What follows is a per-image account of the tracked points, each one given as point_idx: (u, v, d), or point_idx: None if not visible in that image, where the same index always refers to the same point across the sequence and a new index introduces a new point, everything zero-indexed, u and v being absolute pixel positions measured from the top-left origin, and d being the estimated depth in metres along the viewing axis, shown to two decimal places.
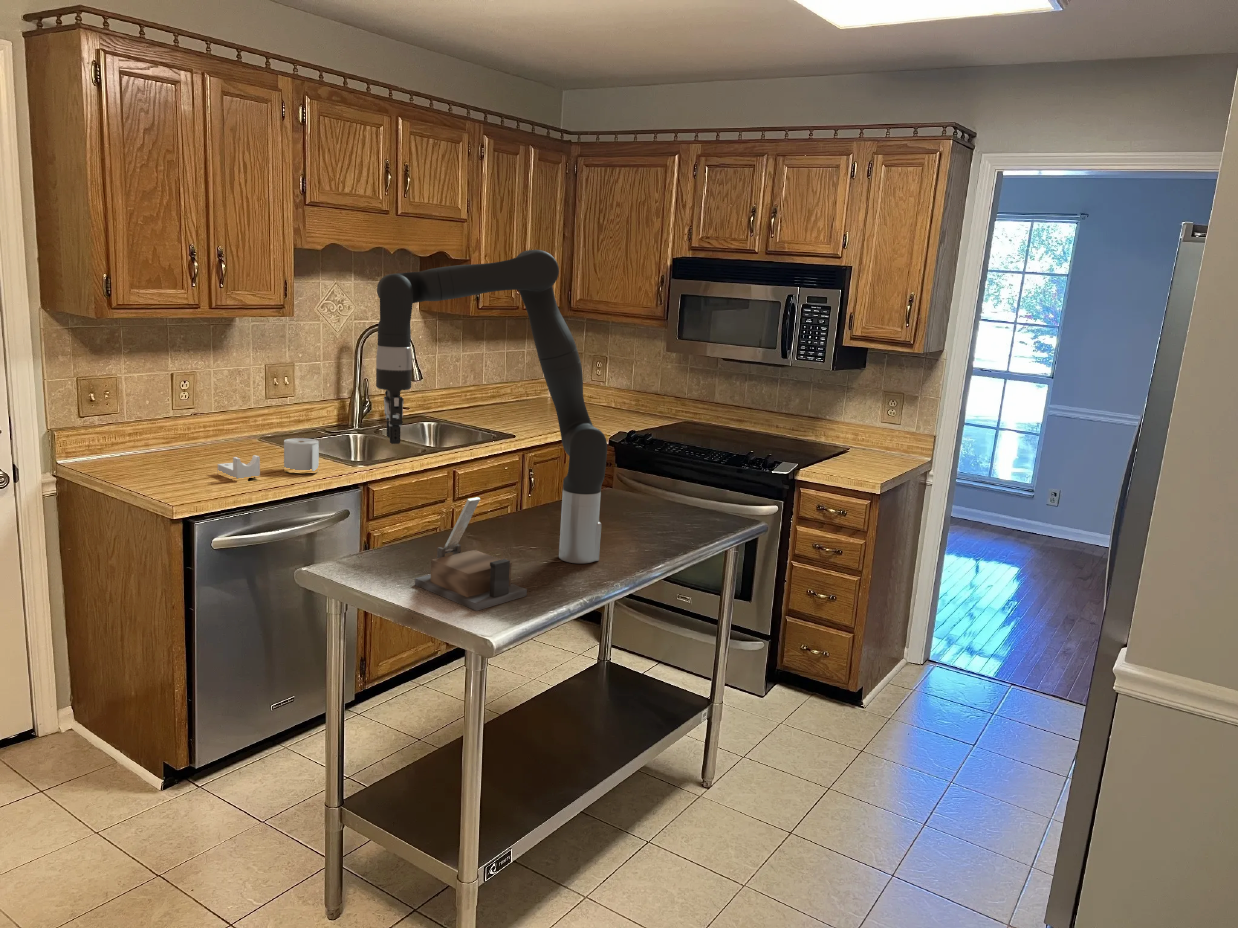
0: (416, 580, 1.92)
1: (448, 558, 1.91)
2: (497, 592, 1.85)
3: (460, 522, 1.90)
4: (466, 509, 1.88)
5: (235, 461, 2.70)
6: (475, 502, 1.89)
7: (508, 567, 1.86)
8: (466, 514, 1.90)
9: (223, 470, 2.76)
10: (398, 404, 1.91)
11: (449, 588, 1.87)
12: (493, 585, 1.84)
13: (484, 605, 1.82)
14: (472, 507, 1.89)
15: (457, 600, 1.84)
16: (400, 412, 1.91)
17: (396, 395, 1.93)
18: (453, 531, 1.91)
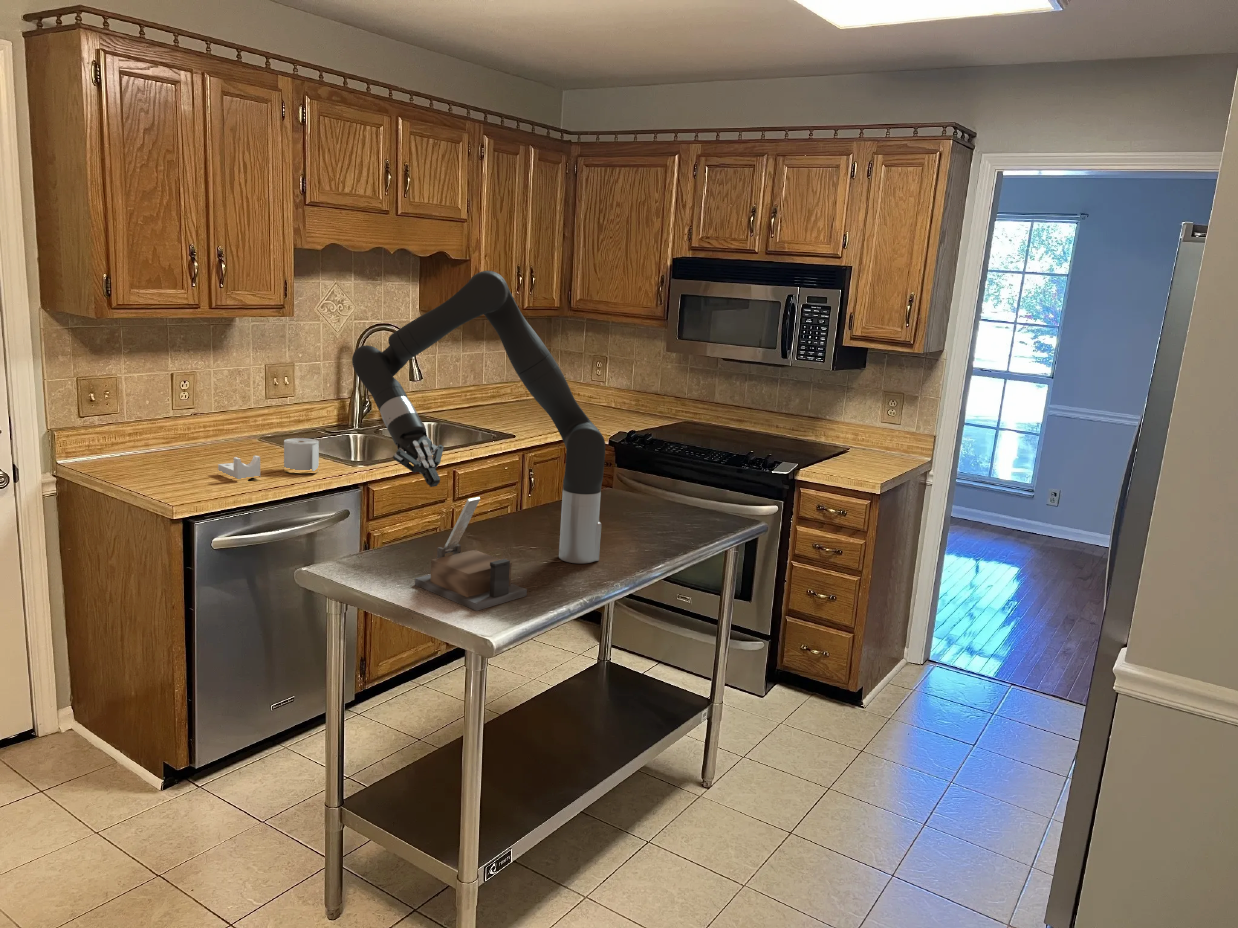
0: (416, 580, 1.92)
1: (448, 558, 1.91)
2: (497, 592, 1.85)
3: (460, 522, 1.90)
4: (466, 509, 1.88)
5: (235, 461, 2.69)
6: (475, 502, 1.89)
7: (508, 567, 1.86)
8: (466, 514, 1.90)
9: (224, 470, 2.75)
10: (401, 457, 1.94)
11: (449, 588, 1.87)
12: (493, 585, 1.84)
13: (484, 605, 1.82)
14: (472, 507, 1.89)
15: (457, 600, 1.84)
16: (408, 461, 1.95)
17: (399, 445, 1.96)
18: (453, 531, 1.91)
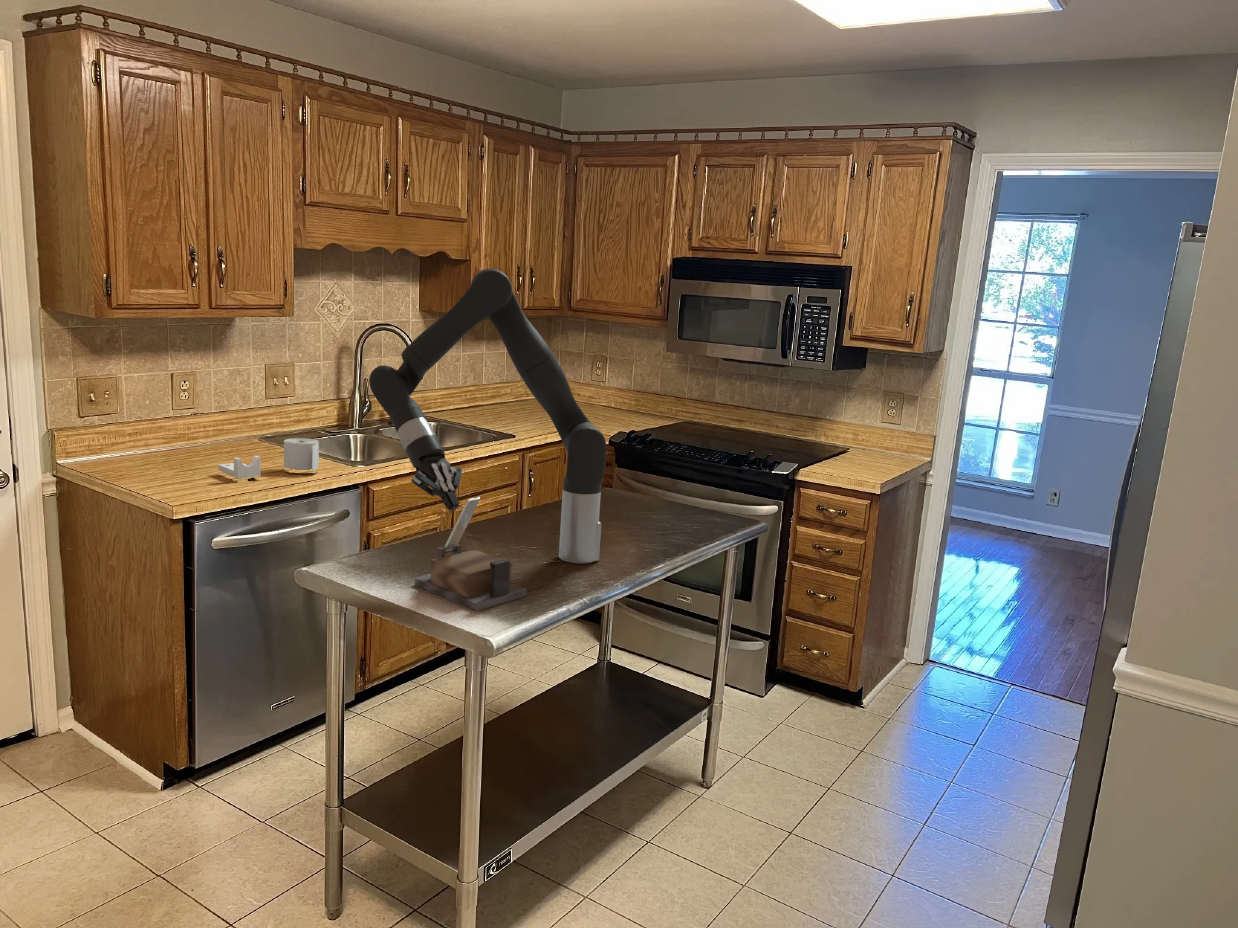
0: (416, 580, 1.92)
1: (448, 558, 1.91)
2: (497, 592, 1.85)
3: (460, 522, 1.90)
4: (466, 509, 1.88)
5: (236, 461, 2.69)
6: (475, 502, 1.89)
7: (508, 567, 1.86)
8: (466, 514, 1.90)
9: (224, 470, 2.75)
10: (419, 481, 1.91)
11: (449, 588, 1.87)
12: (493, 585, 1.84)
13: (484, 605, 1.82)
14: (472, 507, 1.89)
15: (457, 600, 1.84)
16: (427, 484, 1.91)
17: (418, 468, 1.93)
18: (453, 531, 1.91)
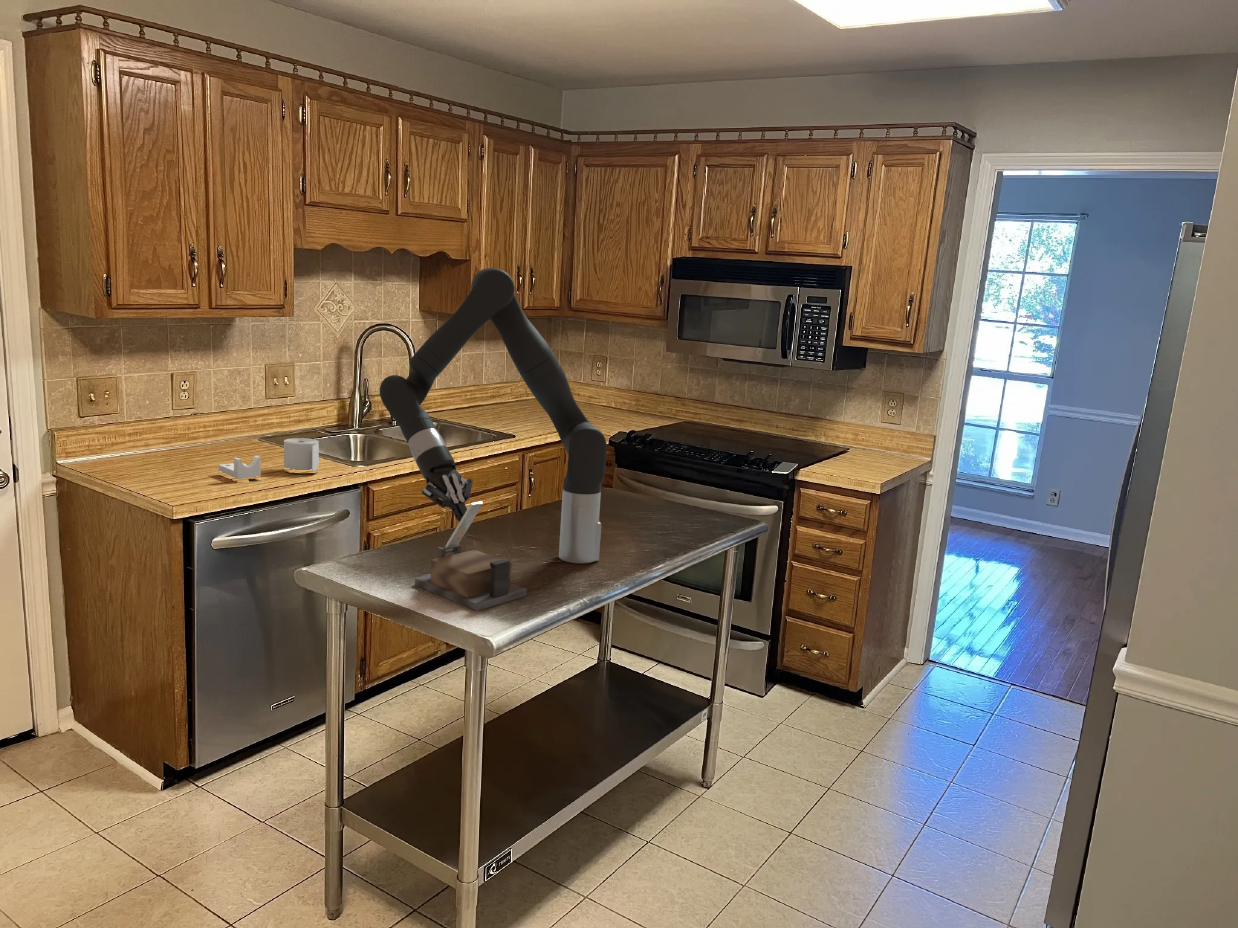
0: (416, 580, 1.92)
1: (448, 558, 1.91)
2: (497, 592, 1.85)
3: (462, 524, 1.90)
4: (469, 512, 1.88)
5: (236, 462, 2.69)
6: (478, 505, 1.88)
7: (508, 567, 1.86)
8: (468, 517, 1.89)
9: (224, 470, 2.75)
10: (430, 492, 1.89)
11: (449, 588, 1.87)
12: (493, 585, 1.84)
13: (484, 605, 1.82)
14: (475, 510, 1.89)
15: (457, 600, 1.84)
16: (437, 496, 1.89)
17: (428, 479, 1.91)
18: (454, 533, 1.91)
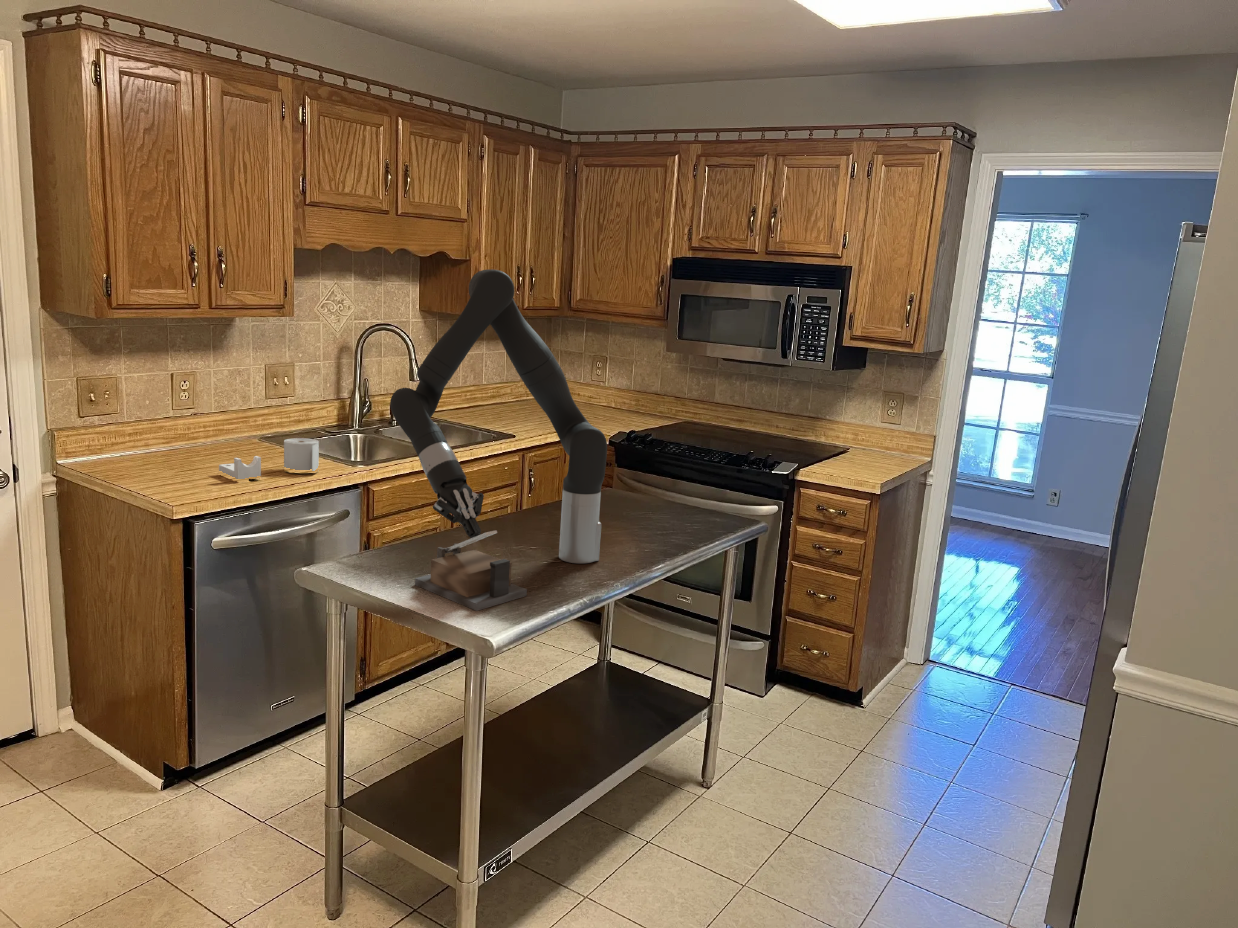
0: (416, 580, 1.92)
1: (448, 558, 1.91)
2: (497, 592, 1.85)
3: (469, 542, 1.89)
4: (480, 537, 1.86)
5: (236, 462, 2.69)
6: (491, 534, 1.86)
7: (508, 567, 1.86)
8: (478, 539, 1.88)
9: (225, 470, 2.75)
10: (441, 507, 1.87)
11: (449, 588, 1.87)
12: (493, 585, 1.84)
13: (484, 605, 1.82)
14: (487, 536, 1.87)
15: (457, 600, 1.84)
16: (449, 511, 1.87)
17: (439, 494, 1.89)
18: (459, 544, 1.90)
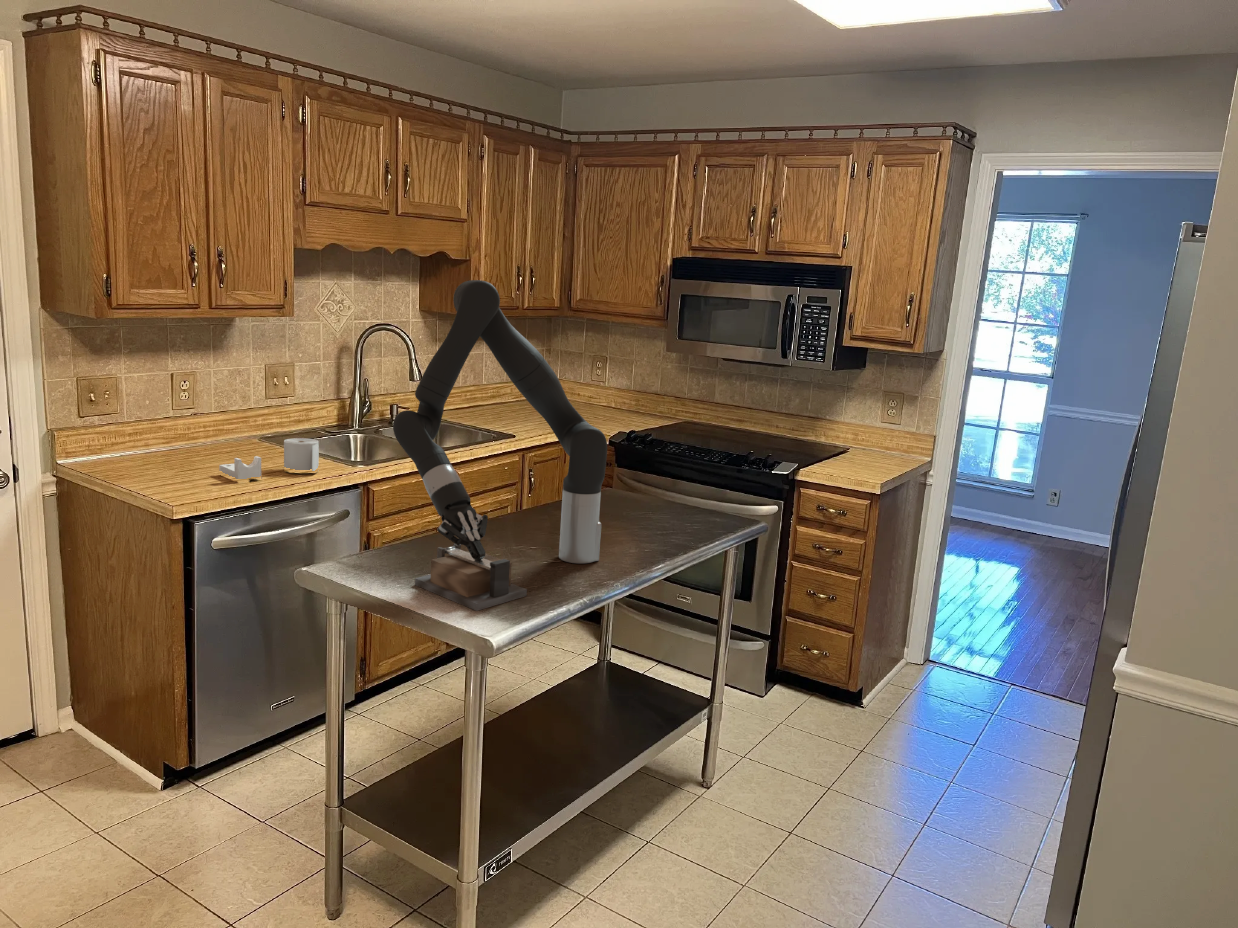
0: (416, 580, 1.92)
1: (448, 558, 1.91)
2: (497, 592, 1.85)
3: None
4: None
5: (236, 462, 2.69)
6: None
7: (508, 567, 1.86)
8: None
9: (225, 470, 2.75)
10: (445, 530, 1.87)
11: (449, 588, 1.87)
12: (493, 585, 1.84)
13: (484, 605, 1.82)
14: None
15: (457, 600, 1.84)
16: (453, 534, 1.87)
17: (444, 516, 1.89)
18: (461, 558, 1.91)
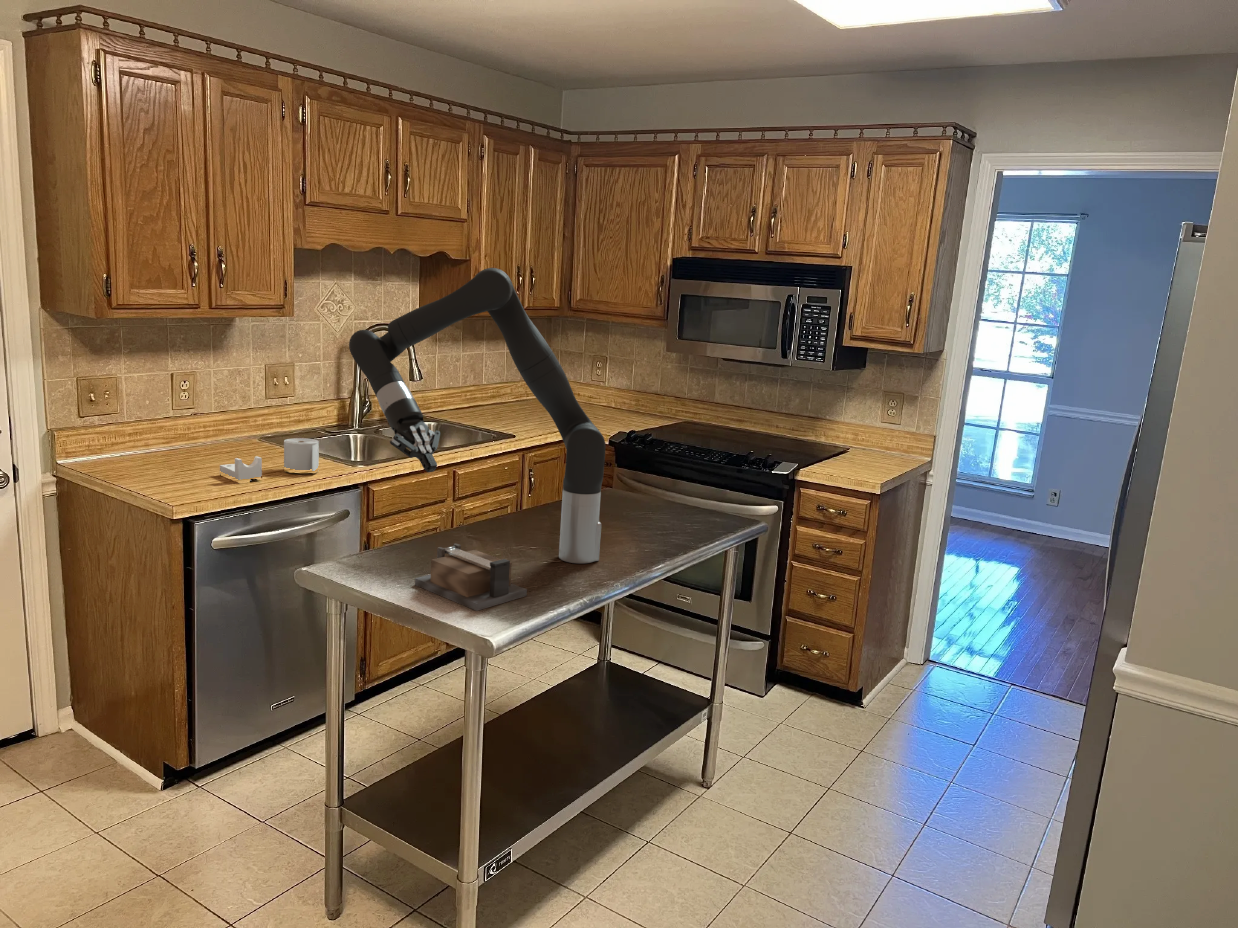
0: (416, 580, 1.92)
1: (448, 558, 1.91)
2: (497, 592, 1.85)
3: None
4: None
5: (237, 462, 2.68)
6: None
7: (508, 567, 1.86)
8: None
9: (225, 471, 2.74)
10: (398, 442, 1.94)
11: (449, 588, 1.87)
12: (493, 585, 1.84)
13: (484, 605, 1.82)
14: None
15: (457, 600, 1.84)
16: (405, 446, 1.94)
17: (396, 430, 1.96)
18: (461, 558, 1.91)
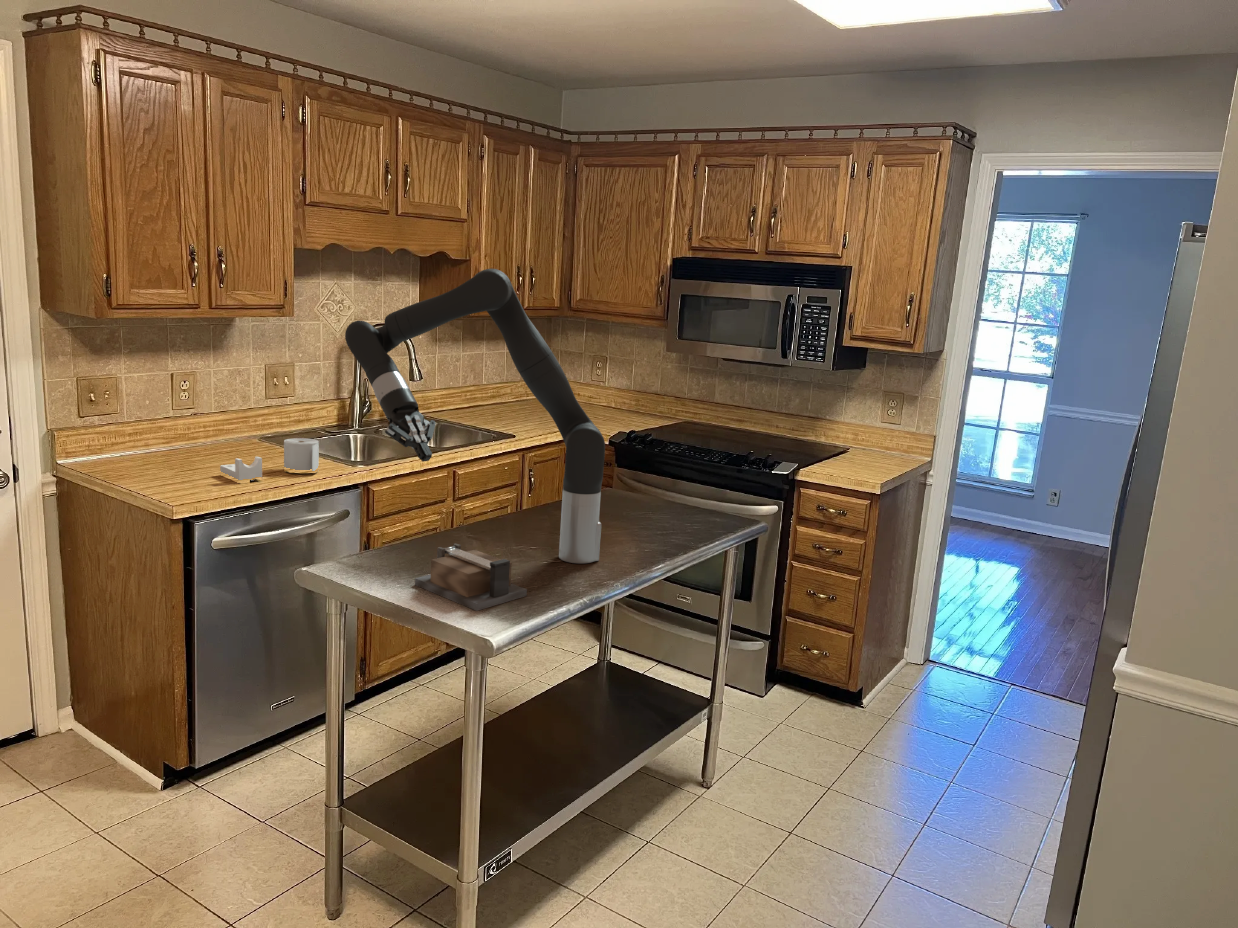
0: (416, 580, 1.92)
1: (448, 558, 1.91)
2: (497, 592, 1.85)
3: None
4: None
5: (237, 462, 2.68)
6: None
7: (508, 567, 1.86)
8: None
9: (226, 471, 2.74)
10: (393, 431, 1.95)
11: (449, 588, 1.87)
12: (493, 585, 1.84)
13: (484, 605, 1.82)
14: None
15: (457, 600, 1.84)
16: (400, 435, 1.95)
17: (391, 419, 1.97)
18: (461, 558, 1.91)
